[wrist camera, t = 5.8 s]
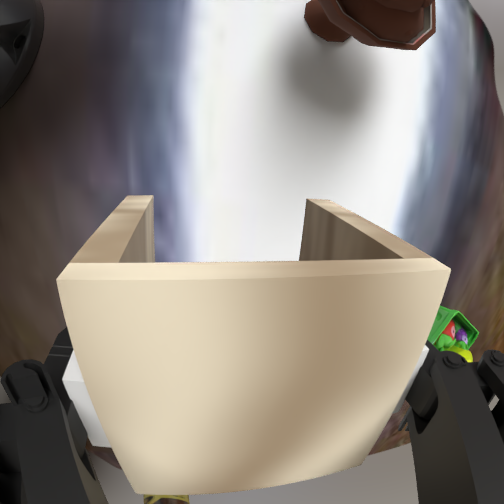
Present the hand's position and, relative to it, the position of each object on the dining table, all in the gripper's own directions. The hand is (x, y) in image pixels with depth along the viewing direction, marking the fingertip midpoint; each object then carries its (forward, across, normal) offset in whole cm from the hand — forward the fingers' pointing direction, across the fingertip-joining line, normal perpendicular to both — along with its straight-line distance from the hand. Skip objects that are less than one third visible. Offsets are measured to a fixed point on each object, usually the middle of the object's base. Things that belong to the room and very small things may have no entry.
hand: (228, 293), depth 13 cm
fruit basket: (+16, +34, -17) cm, 42 cm away
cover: (0, 0, 0) cm, 0 cm away
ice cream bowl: (+16, +11, +20) cm, 28 cm away
